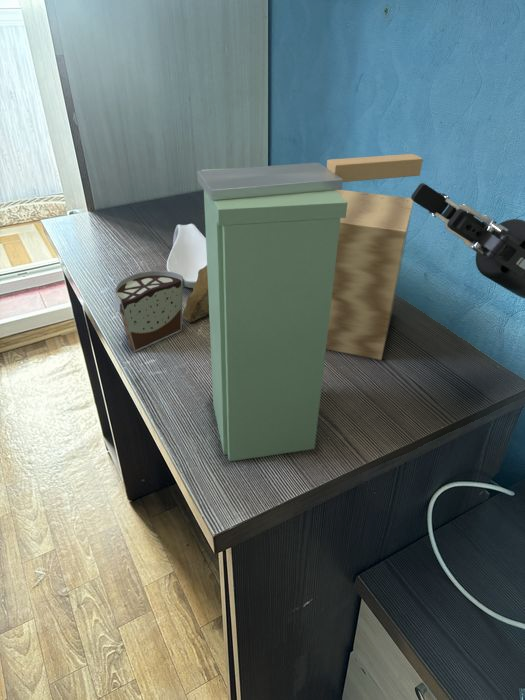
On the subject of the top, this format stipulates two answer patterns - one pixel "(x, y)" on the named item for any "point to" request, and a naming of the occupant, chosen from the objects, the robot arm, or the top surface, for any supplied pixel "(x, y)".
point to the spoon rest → (187, 253)
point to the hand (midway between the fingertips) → (434, 203)
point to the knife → (304, 176)
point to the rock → (198, 298)
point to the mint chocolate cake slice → (150, 306)
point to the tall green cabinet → (270, 316)
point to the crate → (367, 272)
